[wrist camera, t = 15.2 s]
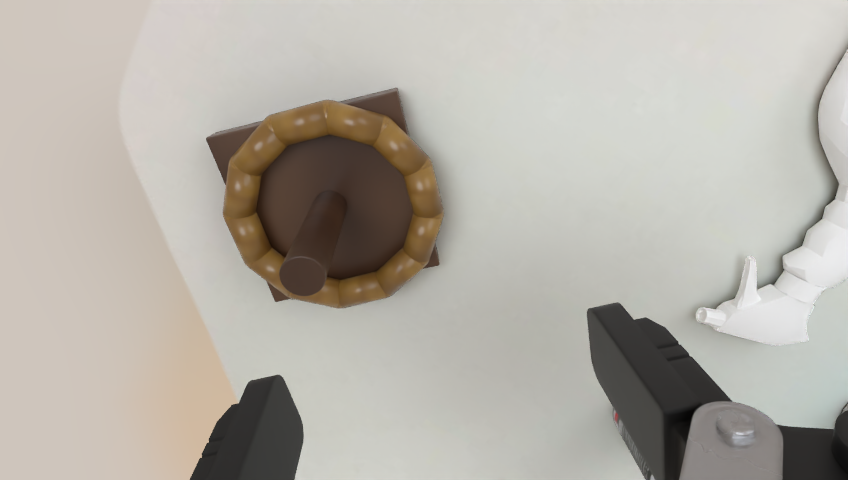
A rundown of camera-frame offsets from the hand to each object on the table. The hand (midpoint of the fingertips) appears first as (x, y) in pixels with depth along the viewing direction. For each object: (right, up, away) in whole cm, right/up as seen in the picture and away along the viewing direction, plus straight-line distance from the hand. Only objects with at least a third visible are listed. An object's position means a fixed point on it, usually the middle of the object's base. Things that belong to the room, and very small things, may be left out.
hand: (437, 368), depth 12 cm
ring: (-5, +5, +13) cm, 14 cm away
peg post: (-6, +6, +15) cm, 17 cm away
